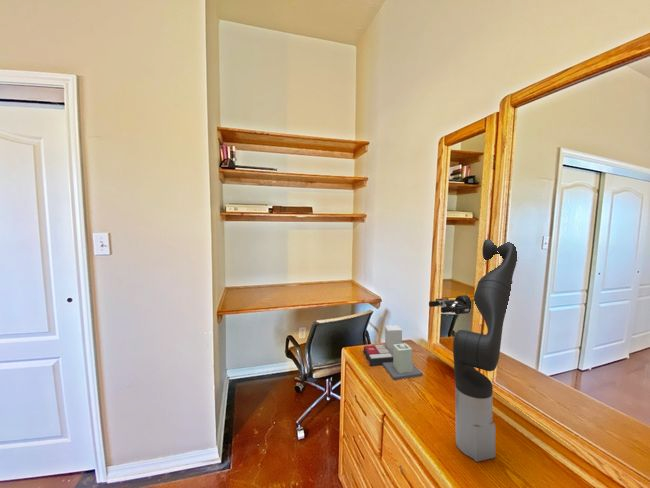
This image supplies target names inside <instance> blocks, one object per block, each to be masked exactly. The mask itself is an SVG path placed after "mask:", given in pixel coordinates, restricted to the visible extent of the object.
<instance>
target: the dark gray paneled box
mask: <svg viewBox="0 0 650 488" xmlns="http://www.w3.org/2000/svg"><path fill="white" fill-rule="evenodd" d="M364 352H365V354H364V355H366V356H365V357H367V358H366V359H367V361H369V362H368V364H369V363H370V364H369V366H370V367H381V366H382V365H383V363H387V362H393V355H391V354H390V352H389V351H388V350H387V348H386V347H385V344H375V345H365V346H363V353H364ZM382 367H383V366H382Z"/></svg>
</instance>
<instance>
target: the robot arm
mask: <svg viewBox="0 0 650 488" xmlns="http://www.w3.org/2000/svg"><path fill="white" fill-rule="evenodd" d="M486 239H487V238H486ZM486 239H485V240H484V241H483V243H482V251H481V252H482V258H484V259H485V260H489V259H491V258H492V257H493V255H495V254H500V256H502V258H503V259H504V260H503V262H502V263H500V264H499V266H498V267H497V268H495V269H494V270H492V271H490V272H487V273H486V274H484V275H483V276H482V277H481V278H480V279H479V281H478V282H477V284H476V288H475V292H474V301H475V304H476V306H477V308H478V310H479V312H478V313H480V315H481V317H482V318H483V320H484V323H485V325H486V328H487V333H486V334H484V333H479V332H474V331H470V330H465V329H458V330H457V331H456V332H455V334H454V337H453V340H452V342H453V343H452V352H453V353H452V355H453V369H454V372H453V373H454V382H455V383H454V386H455V389H454V390H455V391H454V393H455V394H454V395H455V396H454V398H455V399H454V400H455V402H454V403H455V406H454V408H455V415H454V416H455V417H454V418H455V420H454V421H455V422H454V423H455V425H454V426H455V445H456V447H457V448H458V450H459V451H461V453H463V454H464V455H466V456H467V457H469V458H471V459H473V461H474V462H481V461H482V462H483V461H487V460H491V459H495V458H496V423H494V422H493V395H494V394H493V390H494V389H493V388H494V387H493V383H492V382H491V380H490V378H488V377H487V376H486V375H485V374H484V373H481V372H480V371H479V370H482V371H483V370H484V371H485V372H494V371H495V370H496V369H497V366H498V365H499V364H498V363H499V360H500V354H501V347H502V346H501V344H502V336H503V327H504V321H505V317H506V314H507V313H506V309H507V305H508V301H509V296H510V291H511V284H512V283H513V276H514V272H515V270H516V267H517V263H516V262H518V260H517V251H516V247H515V246H514V244H512V243H510V242H507V243H505V244H503V245H501V246H499V247H498V248H497V246H496V245H494V243H493V242H492V241H491V240H490V239H487V240H486ZM497 251H498V252H499V253H498V252H497ZM484 259H483V260H484ZM467 295H468V294H463V295H458V296H456V297H455V299H452V298H451V299H449V298H447V297H446V298H445V297H444V298H435V300H432V301H428V307H430V308H433V307H439V308H440V312H441V313H442V314H446V313H447V314H449V313H451V314H455V315H462V314H463V315H464V314H465V315H466V314H470V313H469V312H470V309H471V301H470V298H469V297H468V296H467Z"/></svg>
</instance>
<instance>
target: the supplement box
mask: <svg viewBox="0 0 650 488" xmlns="http://www.w3.org/2000/svg"><path fill="white" fill-rule="evenodd" d="M394 344H403V330H402V328H401V327H400V325H399V324H392V325H391V324H389V325H387V324H386V325H384V346H385V347H386V348H387V350H388V351H389V352H390V354H391V355H392V356H393V345H394Z"/></svg>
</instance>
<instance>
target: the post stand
mask: <svg viewBox="0 0 650 488" xmlns="http://www.w3.org/2000/svg"><path fill="white" fill-rule="evenodd" d="M399 349H406V347H405V345H404V344H403V343H402V344H401V345H400V346H399ZM382 367H383V368H384V369H385V371H386V372H387V373H388V375H390V377H391V378H392V379H393V380H394V381H396V380H397V381H398V380H403V379H409V378H410V379H411V378H417V377H418V378H419V377H423V374H424V373H423V371H421V370H420V369H419V368H418V367H417V366H416V365H415V364H414V363H413V362H412V368H413V372H407V373H400V374H399V372H398V371H397V370H396V369H395V368H394V366H393V362H387V363H383V366H382Z"/></svg>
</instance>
